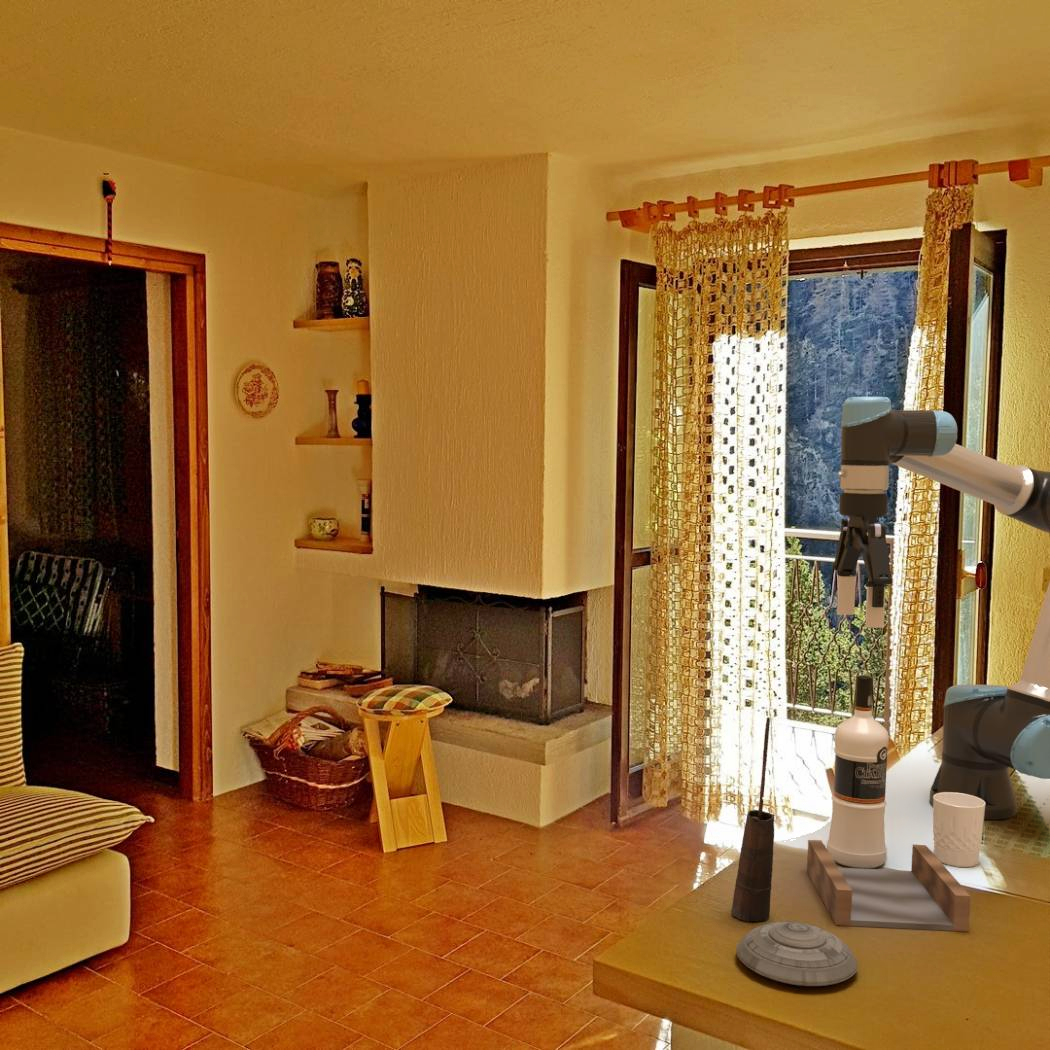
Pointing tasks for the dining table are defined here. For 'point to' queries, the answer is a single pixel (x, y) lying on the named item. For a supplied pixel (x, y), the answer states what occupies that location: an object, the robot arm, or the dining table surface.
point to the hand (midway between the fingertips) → (859, 620)
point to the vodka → (859, 786)
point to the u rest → (890, 893)
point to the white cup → (957, 828)
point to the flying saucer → (797, 954)
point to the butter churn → (756, 859)
